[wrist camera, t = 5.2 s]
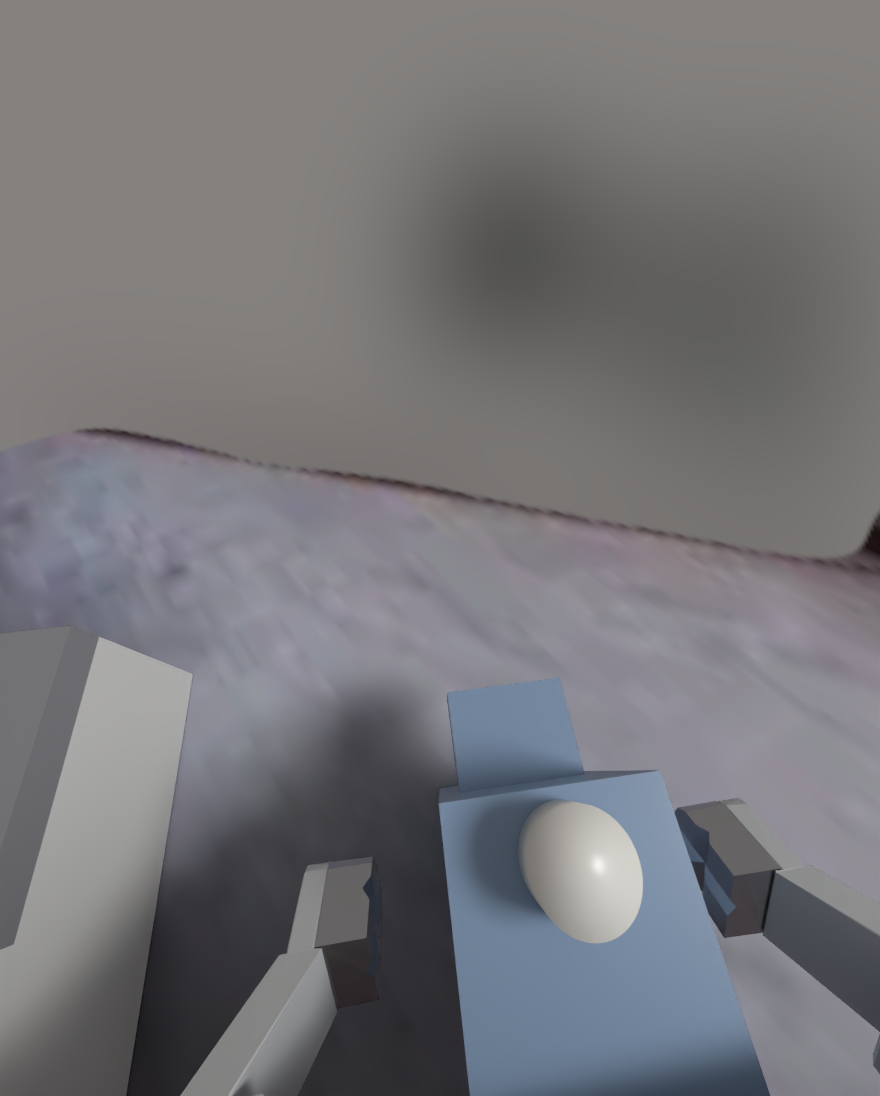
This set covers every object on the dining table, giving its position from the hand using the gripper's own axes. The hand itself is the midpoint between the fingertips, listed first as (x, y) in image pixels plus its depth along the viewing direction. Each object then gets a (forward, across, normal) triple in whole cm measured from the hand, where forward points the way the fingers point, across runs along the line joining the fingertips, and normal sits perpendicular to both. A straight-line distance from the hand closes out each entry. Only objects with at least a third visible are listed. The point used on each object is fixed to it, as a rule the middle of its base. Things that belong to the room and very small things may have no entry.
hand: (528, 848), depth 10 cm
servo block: (+3, 0, +4) cm, 4 cm away
